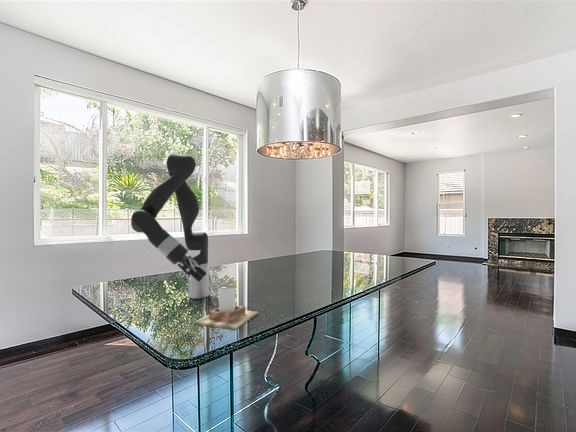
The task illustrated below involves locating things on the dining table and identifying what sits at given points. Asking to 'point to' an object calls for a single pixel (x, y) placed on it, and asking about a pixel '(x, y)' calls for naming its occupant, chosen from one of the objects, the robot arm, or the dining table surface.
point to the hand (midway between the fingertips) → (203, 277)
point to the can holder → (227, 318)
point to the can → (227, 298)
